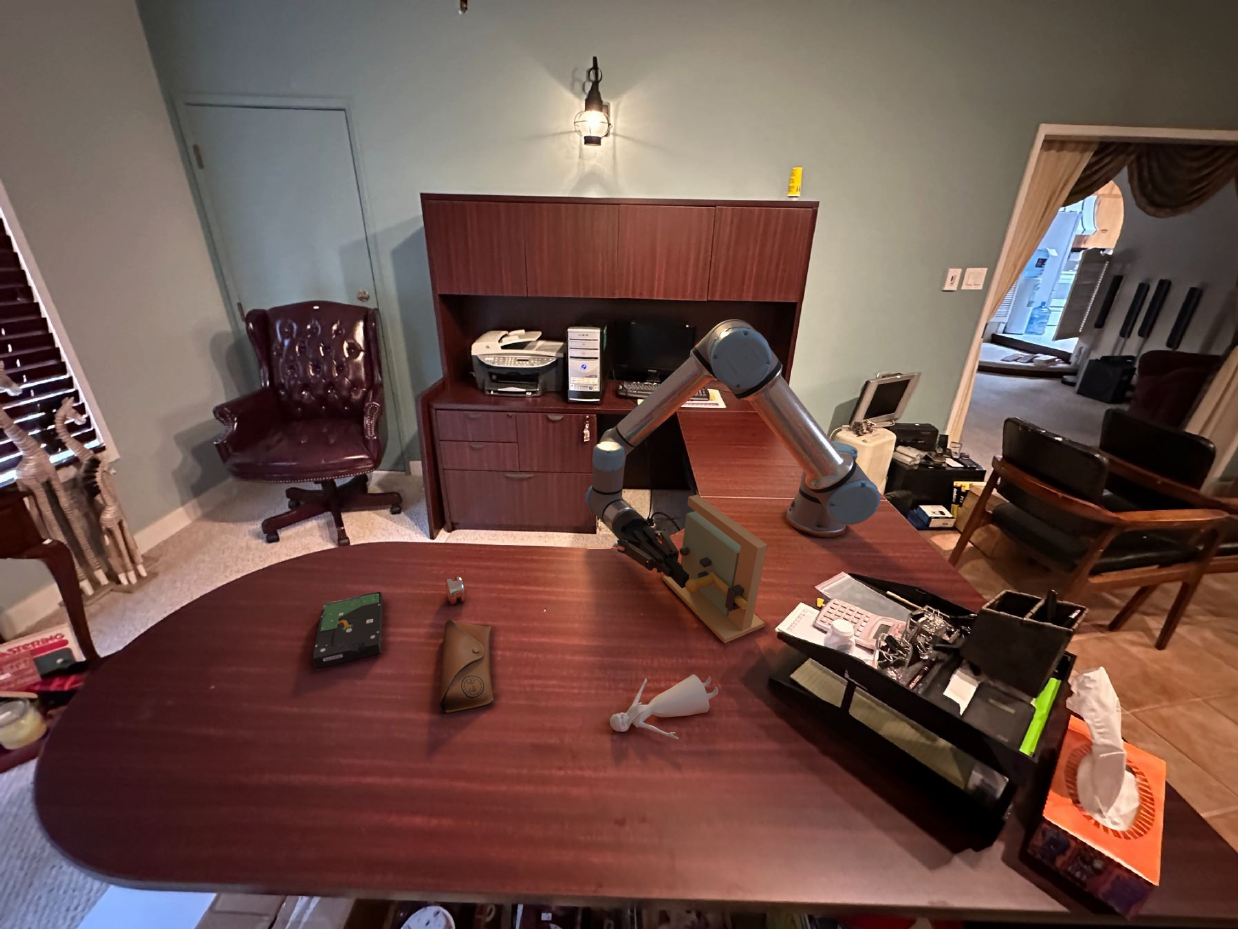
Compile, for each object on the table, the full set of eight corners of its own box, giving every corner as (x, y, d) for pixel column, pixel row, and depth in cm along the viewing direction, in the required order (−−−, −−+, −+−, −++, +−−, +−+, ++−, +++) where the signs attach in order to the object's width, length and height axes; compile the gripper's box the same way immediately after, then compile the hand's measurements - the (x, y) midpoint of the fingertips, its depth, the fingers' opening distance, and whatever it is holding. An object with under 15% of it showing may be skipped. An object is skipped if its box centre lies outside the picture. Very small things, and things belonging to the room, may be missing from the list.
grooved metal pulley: (446, 594, 101) (444, 574, 99) (461, 590, 103) (459, 570, 101) (452, 609, 97) (449, 589, 95) (467, 604, 99) (465, 584, 97)
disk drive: (383, 654, 87) (383, 600, 99) (380, 642, 85) (381, 589, 98) (315, 671, 83) (324, 613, 95) (311, 659, 82) (321, 601, 94)
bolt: (712, 578, 99) (713, 568, 98) (747, 610, 91) (749, 599, 90) (682, 589, 96) (683, 578, 95) (715, 623, 88) (717, 611, 87)
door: (698, 568, 113) (709, 491, 105) (763, 626, 97) (782, 540, 89) (662, 579, 109) (670, 500, 101) (724, 643, 92) (739, 554, 84)
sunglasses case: (497, 701, 78) (471, 679, 75) (459, 725, 78) (432, 704, 75) (491, 623, 94) (470, 601, 91) (460, 643, 94) (437, 622, 90)
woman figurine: (734, 706, 74) (624, 749, 69) (732, 726, 76) (624, 769, 71) (696, 650, 84) (597, 684, 79) (695, 669, 86) (598, 703, 81)
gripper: (648, 530, 119) (709, 588, 100) (600, 543, 113) (655, 606, 94) (650, 503, 116) (714, 557, 97) (601, 515, 110) (659, 575, 91)
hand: (685, 581), depth 96 cm, fingers closed
